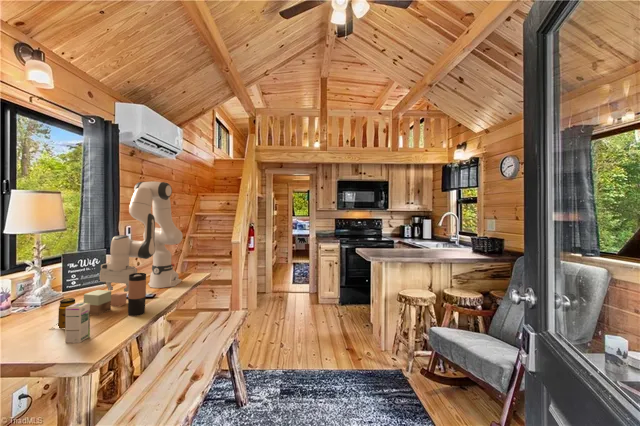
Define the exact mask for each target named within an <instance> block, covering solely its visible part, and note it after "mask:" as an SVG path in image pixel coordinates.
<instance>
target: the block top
mask: <svg viewBox="0 0 640 426" xmlns="http://www.w3.org/2000/svg"><path fill="white" fill-rule="evenodd" d="M111 295H112V290H103V289H96V290H93V291H89V292H86V293H84V294H83V302H84V303H90V305H101V304H104V303H106V302H109V301H111Z"/></svg>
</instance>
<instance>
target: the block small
mask: <svg viewBox="0 0 640 426" xmlns="http://www.w3.org/2000/svg"><path fill="white" fill-rule="evenodd" d="M127 293H128V292H119V291H118V292H115V293H111V307H121V306H125V305H126V304H127V300H128V294H127Z"/></svg>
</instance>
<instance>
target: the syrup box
mask: <svg viewBox="0 0 640 426" xmlns="http://www.w3.org/2000/svg"><path fill="white" fill-rule="evenodd" d="M90 318H91V315H90V303H84V301H83V302H75V304H73V305H71V306H69V307H66V319H65V320H66V322H65V329H64V330H65V332H64V333H65V337H64V338H65V343H66V344H80V343H82V342H83V341H85V340H86V339H88V338H91V337H90V336H91V334H90V333H91V331H90V327H91V325H90V323H91V319H90Z"/></svg>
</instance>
